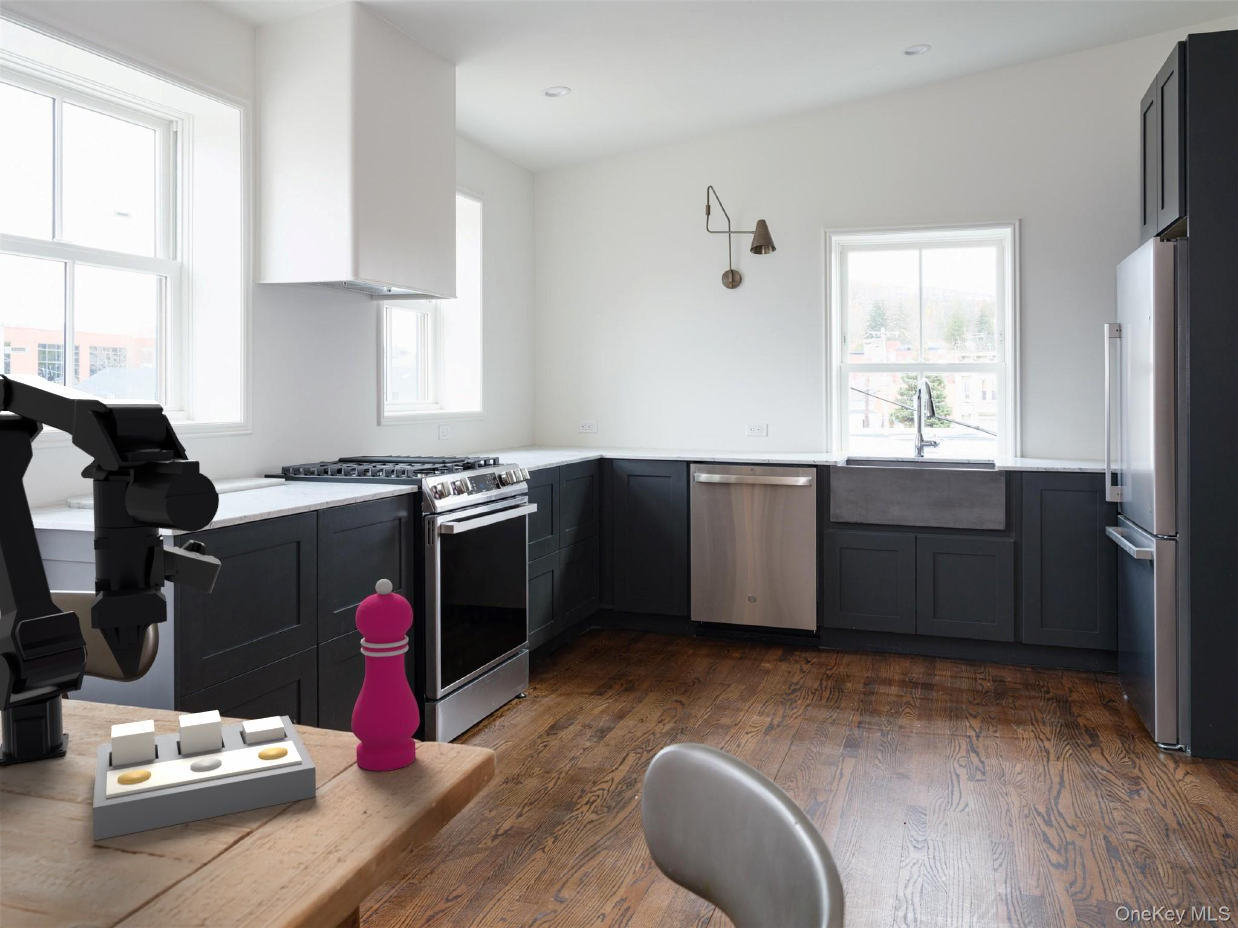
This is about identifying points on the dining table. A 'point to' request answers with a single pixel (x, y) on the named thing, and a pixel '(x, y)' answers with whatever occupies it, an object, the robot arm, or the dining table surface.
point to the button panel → (199, 781)
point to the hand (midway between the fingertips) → (131, 677)
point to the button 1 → (133, 742)
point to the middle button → (200, 732)
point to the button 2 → (262, 730)
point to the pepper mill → (385, 684)
